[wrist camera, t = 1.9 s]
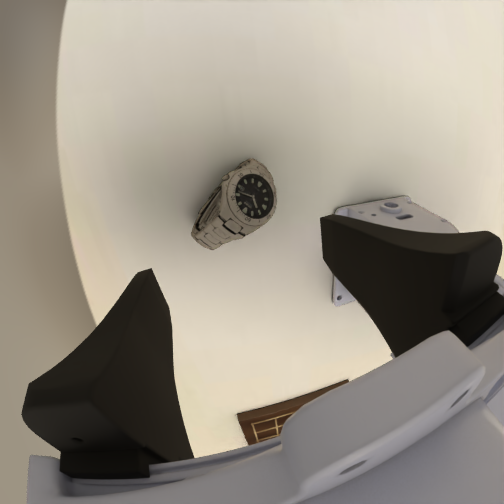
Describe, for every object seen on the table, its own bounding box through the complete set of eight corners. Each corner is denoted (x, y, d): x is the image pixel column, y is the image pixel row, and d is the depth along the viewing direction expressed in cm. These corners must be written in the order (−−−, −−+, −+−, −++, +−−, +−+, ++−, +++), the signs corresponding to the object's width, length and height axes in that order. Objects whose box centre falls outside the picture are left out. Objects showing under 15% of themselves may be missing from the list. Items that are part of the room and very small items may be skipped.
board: (236, 413, 31) (239, 422, 30) (347, 379, 33) (352, 386, 32) (252, 451, 38) (253, 458, 37) (336, 425, 40) (339, 431, 39)
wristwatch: (273, 175, 19) (302, 194, 14) (215, 242, 20) (225, 279, 16) (235, 142, 17) (253, 150, 13) (175, 214, 18) (173, 246, 14)
